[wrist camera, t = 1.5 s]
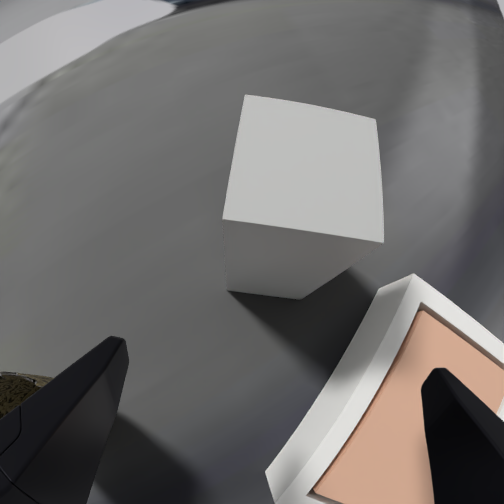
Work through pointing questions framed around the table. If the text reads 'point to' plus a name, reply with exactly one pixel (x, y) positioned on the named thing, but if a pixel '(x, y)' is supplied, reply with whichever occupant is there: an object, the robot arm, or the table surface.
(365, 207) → the stone pillar
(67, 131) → the table surface
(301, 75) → the table surface
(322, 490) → the trapdoor
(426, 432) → the robot arm
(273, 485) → the trapdoor frame
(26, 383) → the cup
